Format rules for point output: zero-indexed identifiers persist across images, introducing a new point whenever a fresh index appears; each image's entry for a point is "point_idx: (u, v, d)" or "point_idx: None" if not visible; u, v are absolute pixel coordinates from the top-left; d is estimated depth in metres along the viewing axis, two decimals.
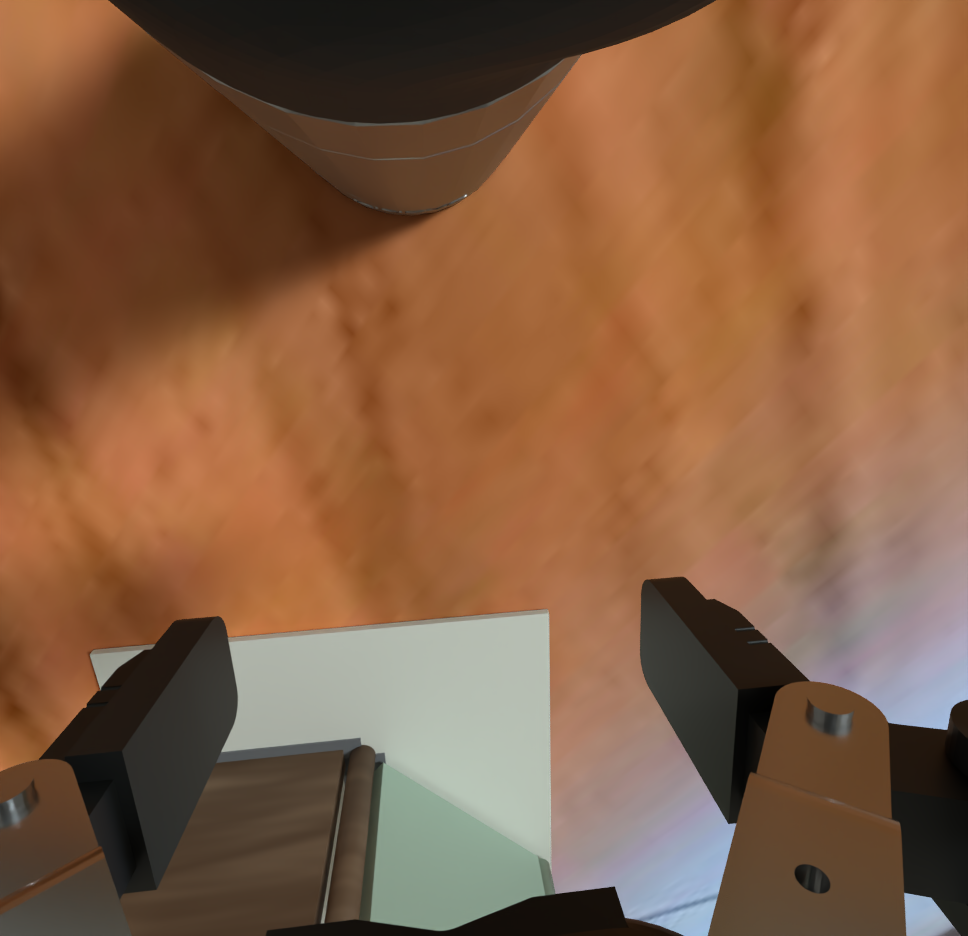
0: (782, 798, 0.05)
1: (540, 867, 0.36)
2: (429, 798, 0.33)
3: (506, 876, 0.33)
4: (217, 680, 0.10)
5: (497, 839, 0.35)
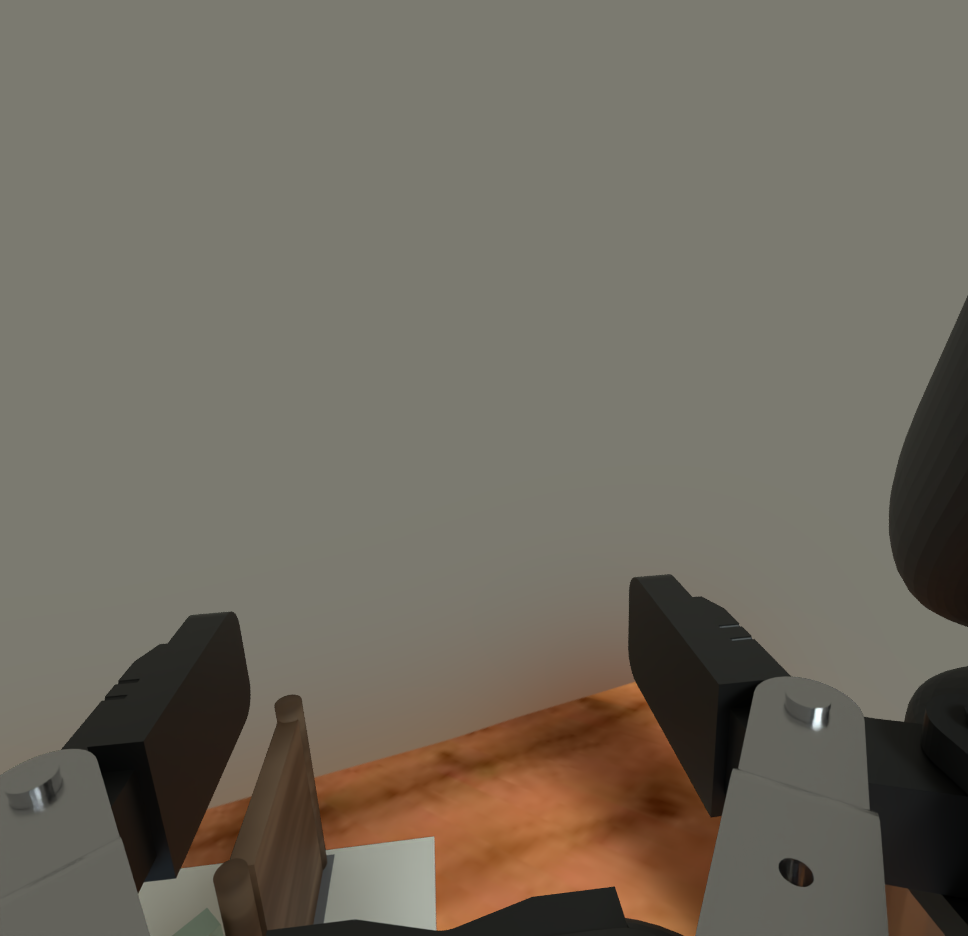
0: (764, 793, 0.05)
1: None
2: None
3: None
4: (231, 674, 0.11)
5: None
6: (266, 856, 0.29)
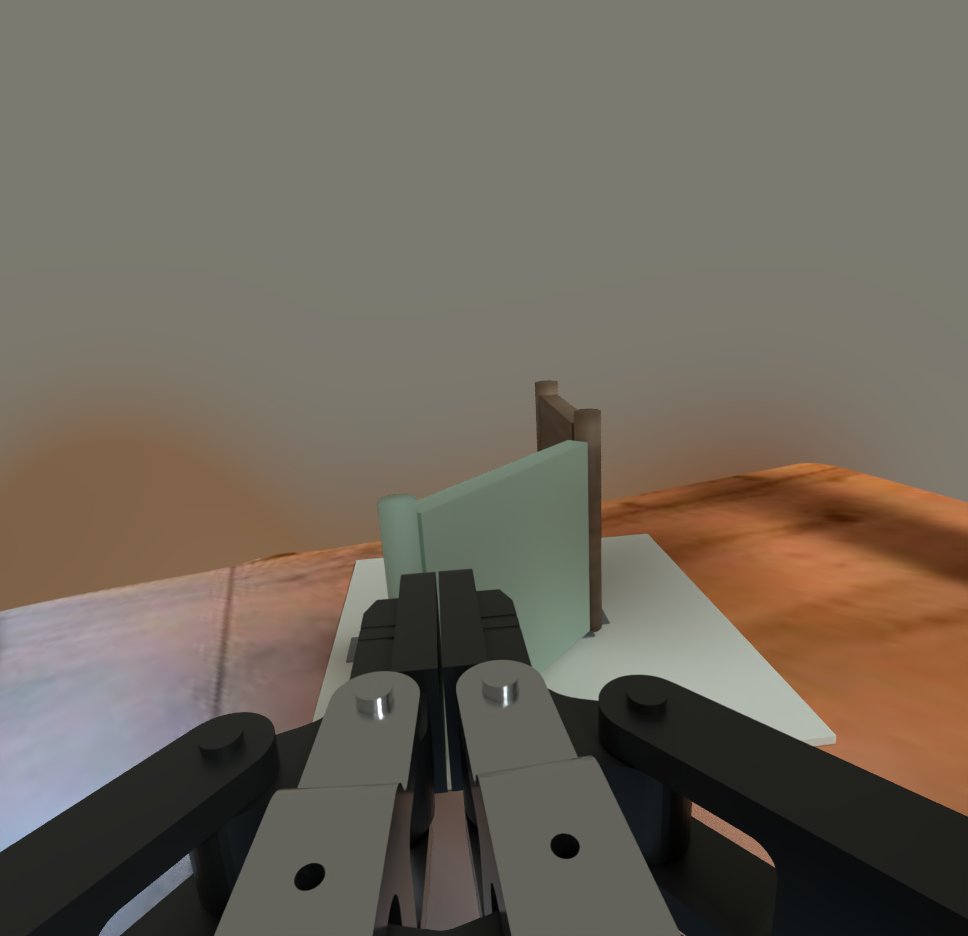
0: (513, 786, 0.06)
1: None
2: (557, 649, 0.31)
3: None
4: None
5: None
6: None
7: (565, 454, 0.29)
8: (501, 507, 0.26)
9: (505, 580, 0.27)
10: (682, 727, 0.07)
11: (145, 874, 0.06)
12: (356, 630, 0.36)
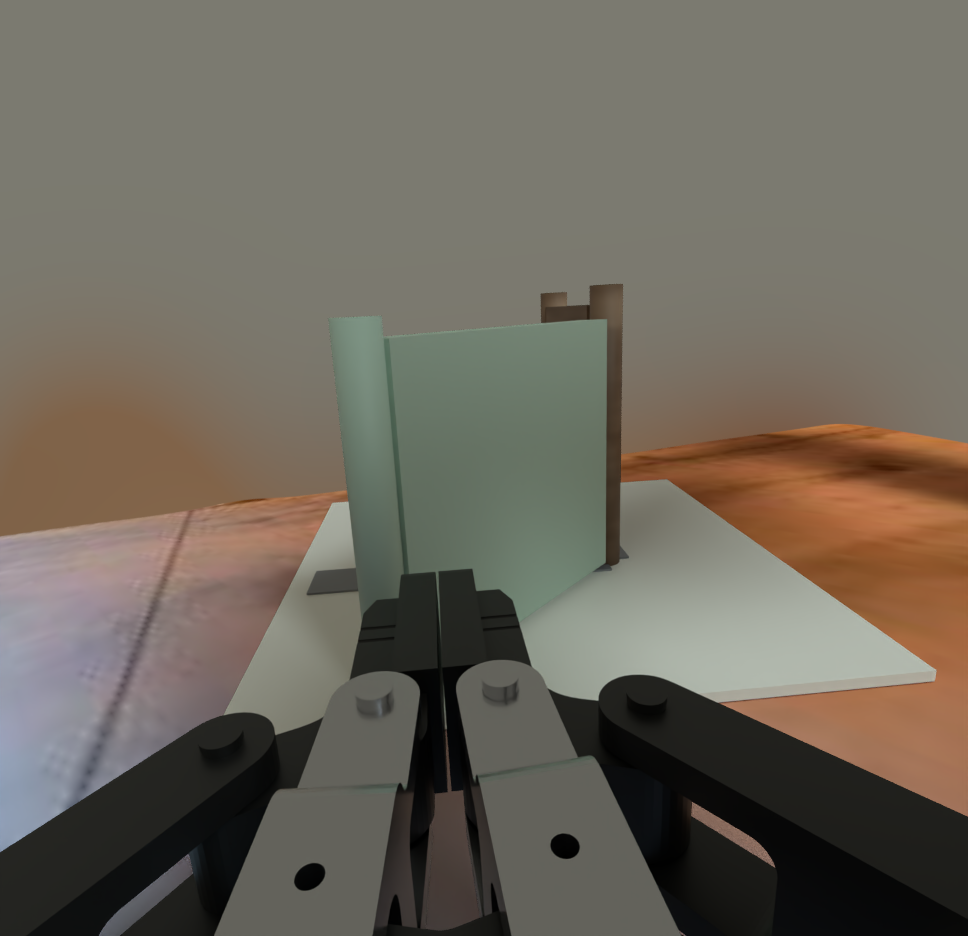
0: (512, 786, 0.06)
1: None
2: (566, 577, 0.25)
3: (478, 581, 0.21)
4: None
5: None
6: None
7: (580, 324, 0.23)
8: (499, 367, 0.20)
9: (503, 468, 0.21)
10: (682, 727, 0.07)
11: (145, 874, 0.06)
12: (323, 564, 0.30)
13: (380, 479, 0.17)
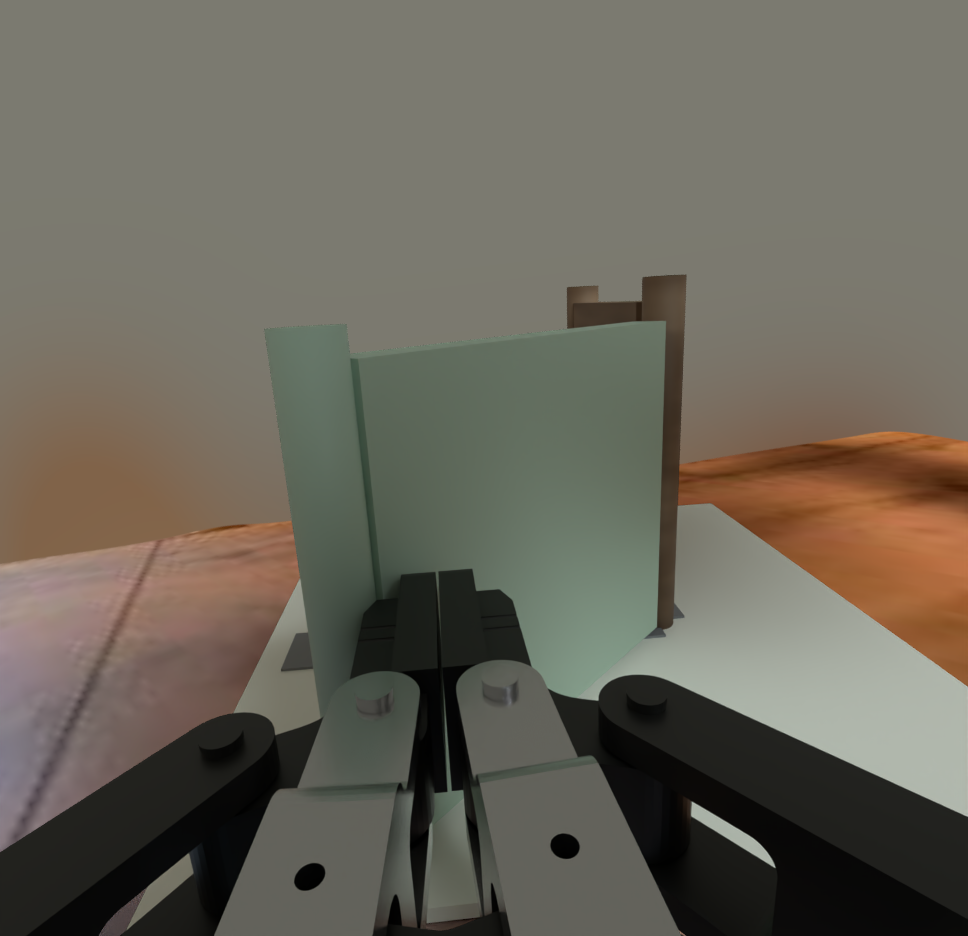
0: (513, 785, 0.06)
1: None
2: (609, 654, 0.20)
3: None
4: (439, 627, 0.12)
5: None
6: None
7: (633, 329, 0.18)
8: (525, 391, 0.14)
9: (529, 527, 0.15)
10: (682, 727, 0.07)
11: (145, 874, 0.06)
12: (305, 623, 0.24)
13: (346, 567, 0.11)
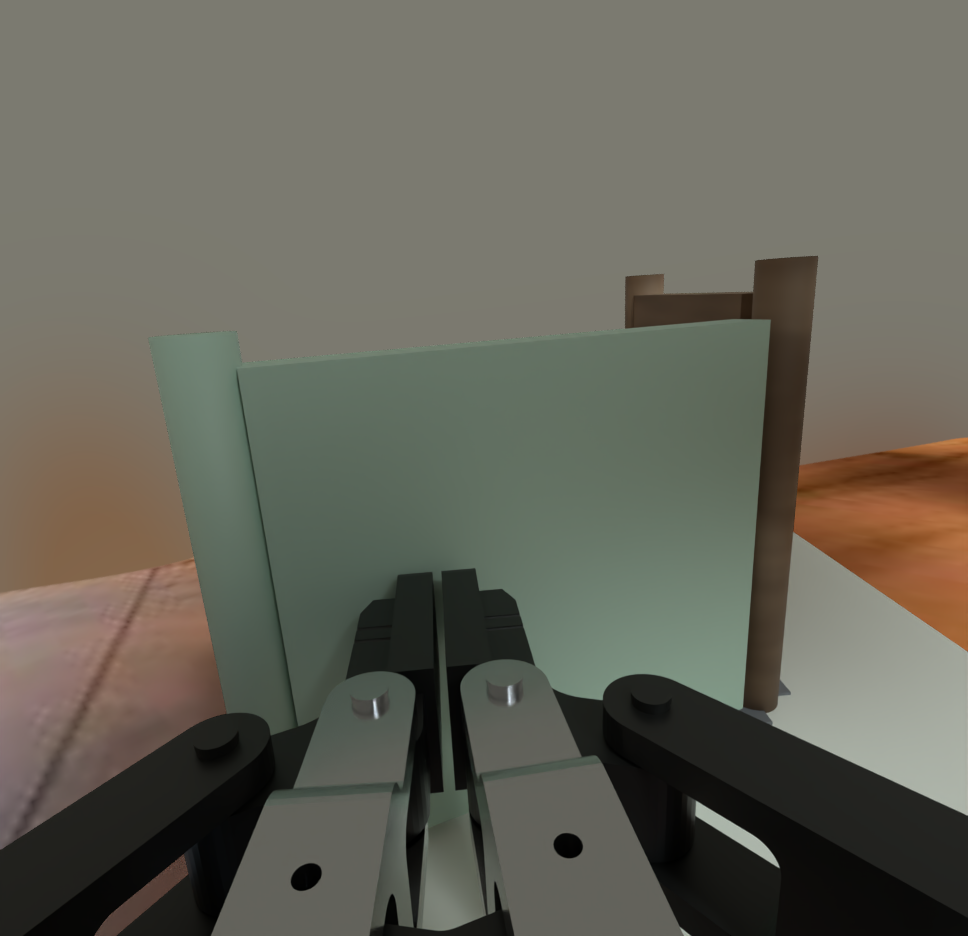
0: (516, 784, 0.06)
1: None
2: None
3: (446, 726, 0.14)
4: None
5: (467, 794, 0.14)
6: None
7: (699, 331, 0.14)
8: (495, 408, 0.12)
9: (503, 564, 0.13)
10: (686, 727, 0.07)
11: (140, 875, 0.06)
12: None
13: (227, 580, 0.11)
